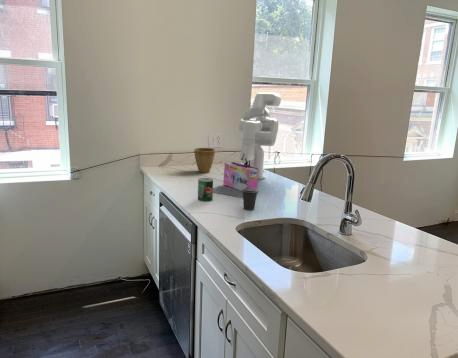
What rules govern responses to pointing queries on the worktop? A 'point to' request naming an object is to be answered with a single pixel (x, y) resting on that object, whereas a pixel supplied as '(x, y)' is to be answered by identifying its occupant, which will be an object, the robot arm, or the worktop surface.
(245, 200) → the dark tapered cylinder
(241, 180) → the gum box
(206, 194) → the canned tomato
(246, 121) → the robot arm
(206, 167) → the plant pot
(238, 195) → the mat
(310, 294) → the worktop surface
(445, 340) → the worktop surface
